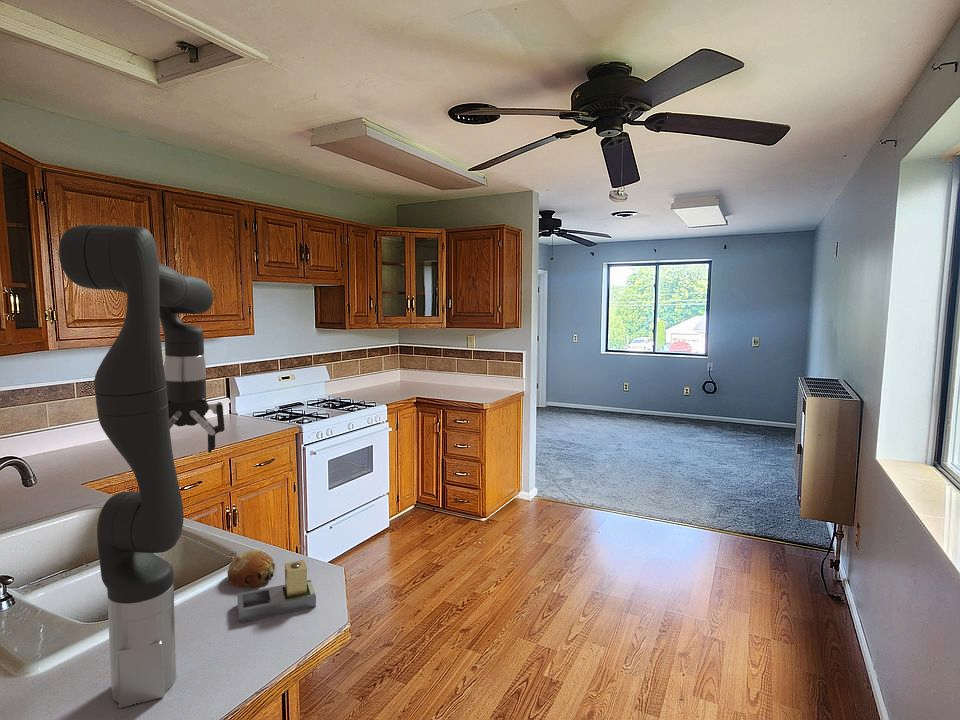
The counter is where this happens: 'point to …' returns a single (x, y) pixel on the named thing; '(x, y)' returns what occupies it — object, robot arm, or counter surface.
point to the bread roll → (251, 569)
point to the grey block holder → (272, 602)
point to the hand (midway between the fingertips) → (187, 453)
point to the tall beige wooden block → (295, 579)
